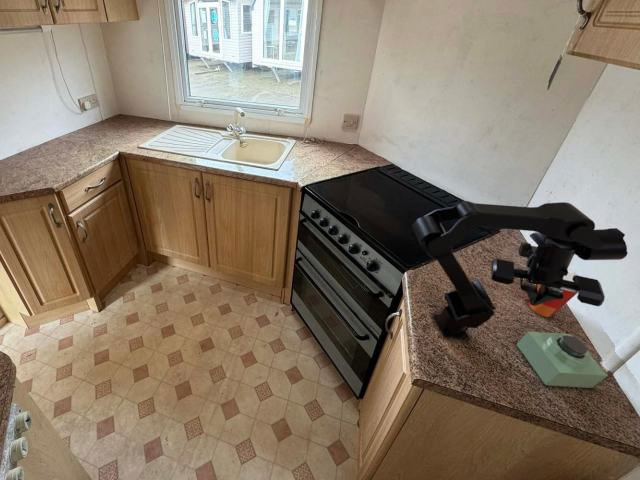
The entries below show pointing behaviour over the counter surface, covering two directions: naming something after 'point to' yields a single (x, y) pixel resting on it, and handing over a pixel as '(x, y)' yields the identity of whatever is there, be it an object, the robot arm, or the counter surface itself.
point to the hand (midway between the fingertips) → (532, 304)
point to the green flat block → (559, 362)
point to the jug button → (572, 346)
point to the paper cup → (554, 305)
